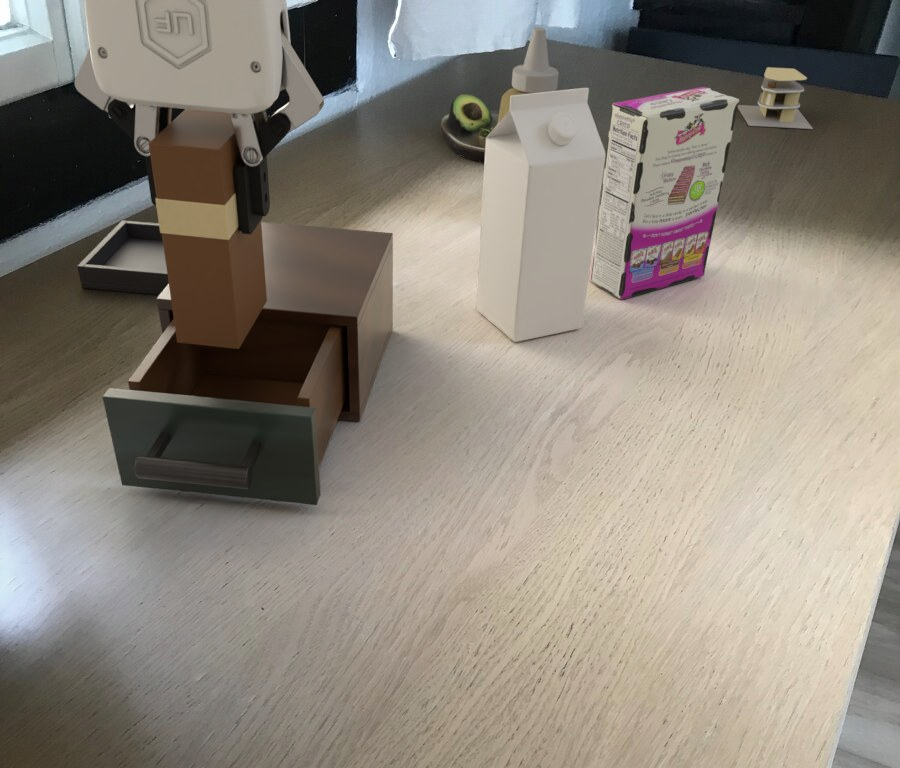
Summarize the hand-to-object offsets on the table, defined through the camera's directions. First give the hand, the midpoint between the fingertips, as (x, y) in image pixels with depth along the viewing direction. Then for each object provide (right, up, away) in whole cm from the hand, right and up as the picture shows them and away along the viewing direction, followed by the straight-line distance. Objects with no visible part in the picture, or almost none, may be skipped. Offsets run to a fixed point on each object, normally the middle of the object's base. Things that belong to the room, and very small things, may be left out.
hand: (212, 218), depth 60 cm
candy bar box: (+34, +8, +37) cm, 50 cm away
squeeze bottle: (+23, +19, +49) cm, 57 cm away
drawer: (0, -13, +10) cm, 16 cm away
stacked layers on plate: (+61, +45, +80) cm, 110 cm away
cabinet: (+1, -4, +21) cm, 22 cm away
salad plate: (+21, +35, +67) cm, 79 cm away
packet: (0, -5, +4) cm, 7 cm away
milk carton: (+22, +2, +29) cm, 36 cm away
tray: (-12, +8, +34) cm, 37 cm away
